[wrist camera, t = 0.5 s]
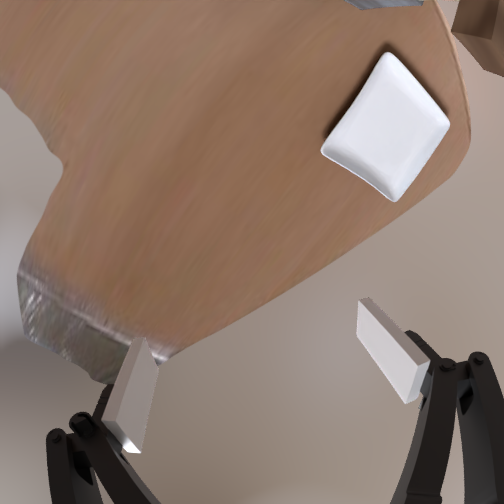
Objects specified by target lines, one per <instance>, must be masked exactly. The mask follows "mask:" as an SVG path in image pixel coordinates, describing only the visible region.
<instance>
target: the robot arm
mask: <svg viewBox="0 0 504 504" xmlns="http://www.w3.org/2000/svg"><path fill="white" fill-rule="evenodd" d="M356 336H357V337H358V338H359V340H360V341H361V343H362V344H363V345H364V347H365V348H366V349H367V351H368V352H369V354H370V355H371V356H372V358H373V359H374V360H375V362H376V363H377V365H378V366H379V367H380V369H381V370H382V372H383V373H384V375H385V376H386V377H387V379H388V380H389V382H390V383H391V384H392V386H393V387H394V389H395V390H396V392H397V393H398V395H399V396H400V397H401V399H402V400H403V401H404V403H405V404H407V403H409V402H411V401H413V400H416V399H417V398H418V395H419V393H420V392H421V393H422V394H423V399H422V401H421V403H420V406H419V409H420V412H419V417H418V421H417V425H416V429H415V433H414V437H413V441H412V444H411V448H410V451H409V454H408V457H407V460H406V463H405V466H404V469H403V472H402V475H401V478H400V480H399V483H398V485H397V488H396V491H395V493H394V495H393V498H392V500H391V502H390V504H441V503H442V497H441V496H440V492H441V488H442V484H443V480H444V476H445V472H446V468H447V464H448V459H449V454H450V448H451V443H452V437H453V436H452V435H453V430H454V422H455V412H456V408H457V413H458V420H459V426H460V433H461V441H462V451H463V463H464V484H465V485H464V486H465V498H464V499H465V500H464V501H465V502H464V504H504V398H503V395H502V392H501V389H500V386H499V383H498V380H497V377H496V375H495V372H494V369H493V367H492V365H491V362H490V360H489V358H488V356H487V355H486V354H484V353H482V352H473V353H472V354H470V356H469V359H468V361H463V362H459V363H456V362H455V361H453V360H452V359H449V358H441V357H440V356H439V355H438V354H437V353H436V352H435V351H434V350H433V349H432V348H431V347H430V346H429V345H428V344H427V343H426V342H425V341H424V340H423V339H422V338H421V337H420V336H419V335H418V334H417V333H414V332H413V331H410V330H409V331H406V332H403V331H402V330H401V329H400V328H399V327H398V326H397V325H396V324H395V323H394V322H393V320H392V319H390V317H388V316H387V315H386V313H385V312H384V311H383V310H381V309H380V307H379V306H378V305H377V304H376V303H374V302H373V301H372V300H371V299H370V298H369V297H368V298H364V299H361V300H359V301H358V320H357V334H356ZM158 372H159V369H158V367H157V365H156V363H155V360H154V358H153V356H152V353H151V351H150V349H149V346H148V344H147V341H146V339H145V337H140V338H134V339H133V341H132V343H131V346H130V348H129V350H128V353H127V355H126V357H125V360H124V362H123V365H122V367H121V369H120V372H119V374H118V377H117V379H116V382H115V384H108V385H107V386H106V387H105V388H104V390H103V391H102V394H101V396H100V399H99V401H98V404H97V406H96V408H95V411H94V413H93V416H92V417H91V415H90V414H89V413H87V412H79V413H76V414H75V415H74V416H72V418H71V419H70V421H69V427H70V428H71V429H72V430H73V432H74V433H71V434H66V433H65V432H64V431H63V430H62V429H60V428H55V429H53V430H51V431H50V432H49V433H48V435H47V437H46V452H47V466H48V476H49V486H50V493H51V498H52V504H103V501H102V498H101V495H100V491H99V488H98V484H97V480H96V476H95V472H96V474H97V476H98V478H99V479H100V481H101V483H102V485H103V486H104V488H105V490H106V491H107V493H108V494H109V496H110V498H111V499H112V501H113V502H114V504H161V503H160V502H159V501H158V500H157V499H156V497H155V496H154V495H153V494H152V493H151V491H150V490H149V489H148V488H147V486H146V485H145V484H144V483H143V481H142V480H141V479H140V477H139V476H138V475H137V473H136V472H135V470H134V469H133V468H132V466H131V465H130V463H129V462H128V461H127V459H126V458H125V456H124V455H123V454H122V453H121V450H122V446H123V447H124V449H125V450H126V451H127V452H132V453H141V450H142V445H143V440H144V435H145V430H146V425H147V420H148V416H149V411H150V406H151V402H152V397H153V393H154V389H155V384H156V381H157V376H158ZM94 470H95V472H94Z"/></svg>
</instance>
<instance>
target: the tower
mask: <svg viewBox="0 0 504 504" xmlns="http://www.w3.org/2000/svg"><path fill="white" fill-rule="evenodd" d="M344 1H346V2H348V3H350V4H352V5H354V6H355V7H357V8H359V9H361V10H364V9H372V8H382V7H394V6H422V5H423V2H424V0H344ZM444 1H459V0H444Z"/></svg>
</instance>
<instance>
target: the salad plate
mask: <svg viewBox="0 0 504 504" xmlns="http://www.w3.org/2000/svg"><path fill="white" fill-rule="evenodd" d="M449 127H450V121H449V120H448V118H447V116H446V115H445V114H444V112H443V111H442V110H441V109H440V107H439V106H438V105H437V104H436V102H435V101H434V100H433V99H432V97H431V96H430V95H429V94H428V93H427V91H426V90H425V89H424V88H423V87H422V85H421V84H420V83H419V82H418V81H417V79H416V78H415V77H414V76H413V75H412V74H411V73H410V71H409V70H408V69H407V68H406V67H405V66H404V65H403V64H402V63H401V61H400V60H399V59H398V58H397V57H395V56H394V55H393V54H392V53H390V52H385V53H384V54H383V55H382V56H381V57H380V59H379V61H378V63H377V64H376V66H375V68H374V69H373V71H372V73H371V75H370V76H369V78H368V80H367V81H366V83H365V85H364V86H363V88H362V90H361V91H360V93H359V94H358V96H357V97H356V99H355V100H354V102H353V103H352V105H351V106H350V108H349V109H348V110H347V112H346V113H345V114H344V116H343V117H342V119H341V120H340V121H339V123H338V124H337V125H336V127H335V128H334V129H333V131H332V132H331V133H330V135H329V136H328V138H327V139H326V140H325V142H324V143H323V145H322V147H321V153H322V154H323V155H324V156H326V157H327V158H329V159H330V160H332V161H334V162H336V163H337V164H339V165H341V166H342V167H344V168H346V169H347V170H349V171H351V172H352V173H354V174H356V175H357V176H359V177H360V178H362V179H363V180H365V181H366V182H368V183H369V184H370V185H372V186H373V187H374V188H376V189H377V190H378V191H379V192H380V193H382V194H383V195H384V196H385V197H387V198H388V199H389V200H391V201H393V202H396V201H398V200H399V198H400V197H401V196H402V195H403V194H404V192H405V191H406V190H407V188H408V187H409V186H410V184H411V183H412V182H413V180H414V179H415V178H416V176H417V175H418V174H419V172H420V171H421V169H422V168H423V166H424V165H425V164H426V162H427V161H428V159H429V158H430V156H431V155H432V153H433V152H434V150H435V149H436V147H437V146H438V144H439V143H440V141H441V140H442V139H443V137H444V135H445V134H446V132H447V131H448V129H449Z"/></svg>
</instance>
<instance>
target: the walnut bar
mask: <svg viewBox="0 0 504 504" xmlns="http://www.w3.org/2000/svg"><path fill="white" fill-rule="evenodd" d="M451 33H452V34H453V35H454V36H455V37H456V38H457V39H458V40H459V41H460V42H461V43H462V44H463V45H464V47H465V48H466V49H467V50H468V51H469V52H470V53H471V55H472V56H473V57H474V58H475V59H476V61H477V62H478V63H479V64H480V66H481V67H482V68H483V69H484V70H486V71H489V72H492V73H494V74H497V75H500V76H502V77H504V0H459V4H458V8H457V12H456V16H455V19H454V22H453V26H452V29H451Z"/></svg>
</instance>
